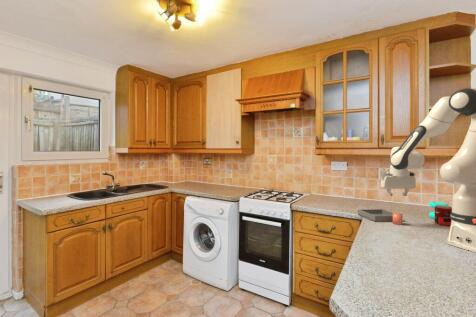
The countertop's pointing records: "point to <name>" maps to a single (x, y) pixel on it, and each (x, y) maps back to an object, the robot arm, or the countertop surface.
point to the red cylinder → (397, 218)
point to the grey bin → (376, 215)
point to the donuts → (434, 207)
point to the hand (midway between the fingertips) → (397, 196)
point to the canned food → (443, 215)
